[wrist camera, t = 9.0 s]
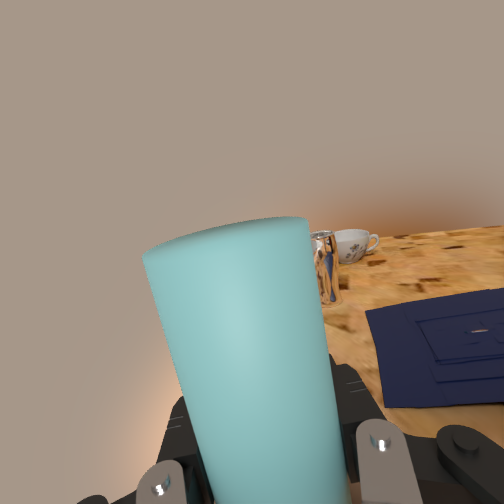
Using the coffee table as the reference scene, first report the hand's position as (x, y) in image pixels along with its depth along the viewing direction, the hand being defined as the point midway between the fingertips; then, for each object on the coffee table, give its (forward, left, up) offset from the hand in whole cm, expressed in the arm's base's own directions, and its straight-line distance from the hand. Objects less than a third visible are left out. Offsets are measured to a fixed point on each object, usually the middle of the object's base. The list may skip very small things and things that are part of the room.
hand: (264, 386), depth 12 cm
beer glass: (-38, -31, -20) cm, 54 cm away
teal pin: (+2, +2, -9) cm, 9 cm away
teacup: (-63, -42, -20) cm, 79 cm away
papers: (-38, -3, -20) cm, 43 cm away
